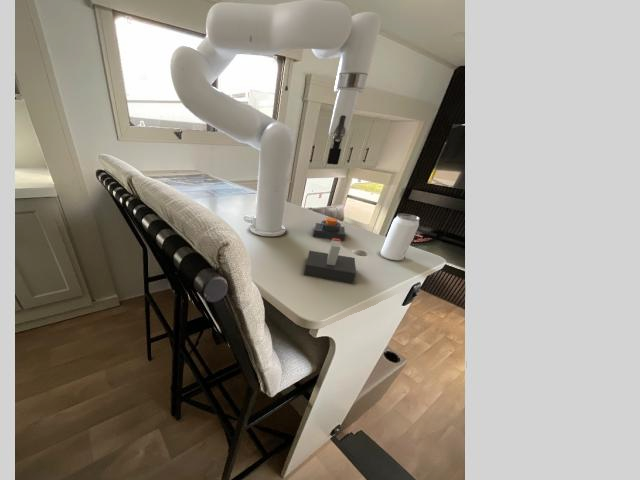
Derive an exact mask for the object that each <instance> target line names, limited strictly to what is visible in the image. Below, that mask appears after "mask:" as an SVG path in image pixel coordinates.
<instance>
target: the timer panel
mask: <svg viewBox="0 0 640 480" xmlns="http://www.w3.org/2000/svg"><path fill="white" fill-rule="evenodd" d="M328 253H329V252H328ZM328 253H326V252H321V251H316V250H315V251H314V250H309V251H308V255H307V259H306V263H305V267H304V272H303V275H304V276H309V277H314V278H318V279H325V280H330V281H335V282H341V283H346V284H352V285H353V284H354V281H355V278H356V275H357V268H356V258H355V257H351V256H345V255H339V254H338V257H337V261H336V264H335V266H334V265H328V264H327V258H328Z"/></svg>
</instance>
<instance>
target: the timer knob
mask: <svg viewBox="0 0 640 480" xmlns="http://www.w3.org/2000/svg"><path fill="white" fill-rule="evenodd" d="M340 250H341V240H340V239H336V238H333V239H331V242H330V246H329V250H328V258H327V264H328V265H334V266H335V264H336V261H337V257H338V255H339V253H340Z"/></svg>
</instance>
